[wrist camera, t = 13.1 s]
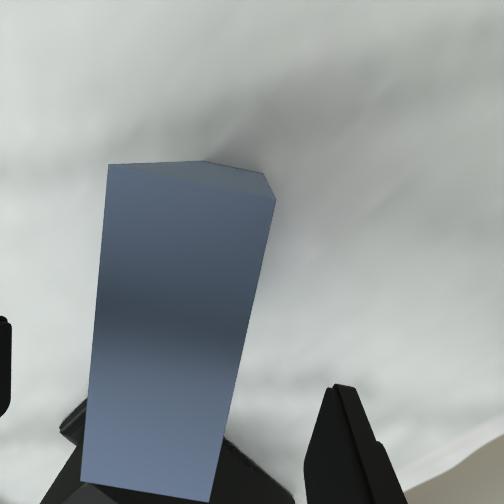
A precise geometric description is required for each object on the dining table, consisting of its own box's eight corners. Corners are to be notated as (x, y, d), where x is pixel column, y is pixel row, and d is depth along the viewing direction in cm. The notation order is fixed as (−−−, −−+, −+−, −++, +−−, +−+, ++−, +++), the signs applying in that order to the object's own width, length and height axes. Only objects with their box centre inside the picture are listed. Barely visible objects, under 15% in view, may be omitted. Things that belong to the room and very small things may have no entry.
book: (202, 160, 27) (108, 164, 10) (263, 173, 27) (276, 199, 10) (180, 296, 30) (80, 481, 13) (235, 307, 31) (208, 502, 13)
